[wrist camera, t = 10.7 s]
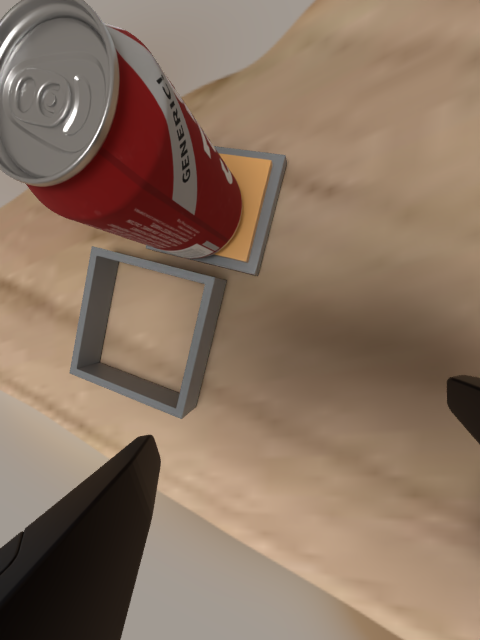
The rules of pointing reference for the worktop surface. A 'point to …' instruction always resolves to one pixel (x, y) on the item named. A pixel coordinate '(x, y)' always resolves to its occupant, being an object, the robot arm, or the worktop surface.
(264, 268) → the worktop surface
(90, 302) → the case
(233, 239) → the lid
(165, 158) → the soda can
